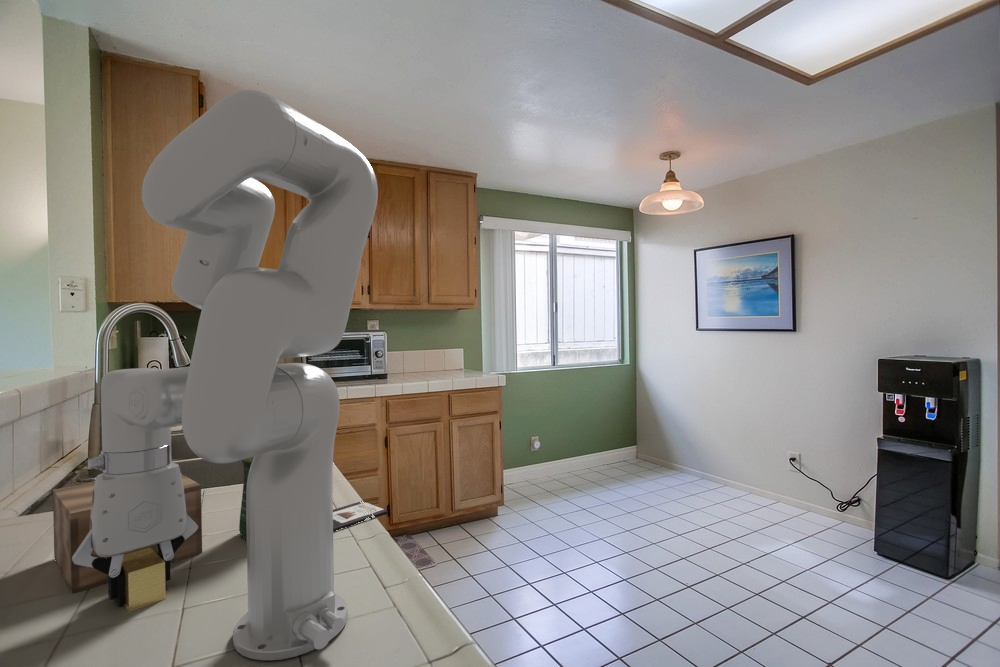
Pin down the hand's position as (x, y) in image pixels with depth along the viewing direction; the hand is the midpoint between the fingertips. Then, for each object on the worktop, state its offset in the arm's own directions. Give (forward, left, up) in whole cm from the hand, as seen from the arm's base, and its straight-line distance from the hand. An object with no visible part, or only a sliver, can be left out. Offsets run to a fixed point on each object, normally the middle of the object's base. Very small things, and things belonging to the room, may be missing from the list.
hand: (140, 593), depth 66 cm
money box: (+16, -2, 0) cm, 16 cm away
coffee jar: (+8, -21, -1) cm, 22 cm away
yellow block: (0, 0, 0) cm, 0 cm away
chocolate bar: (+3, -31, -1) cm, 31 cm away
